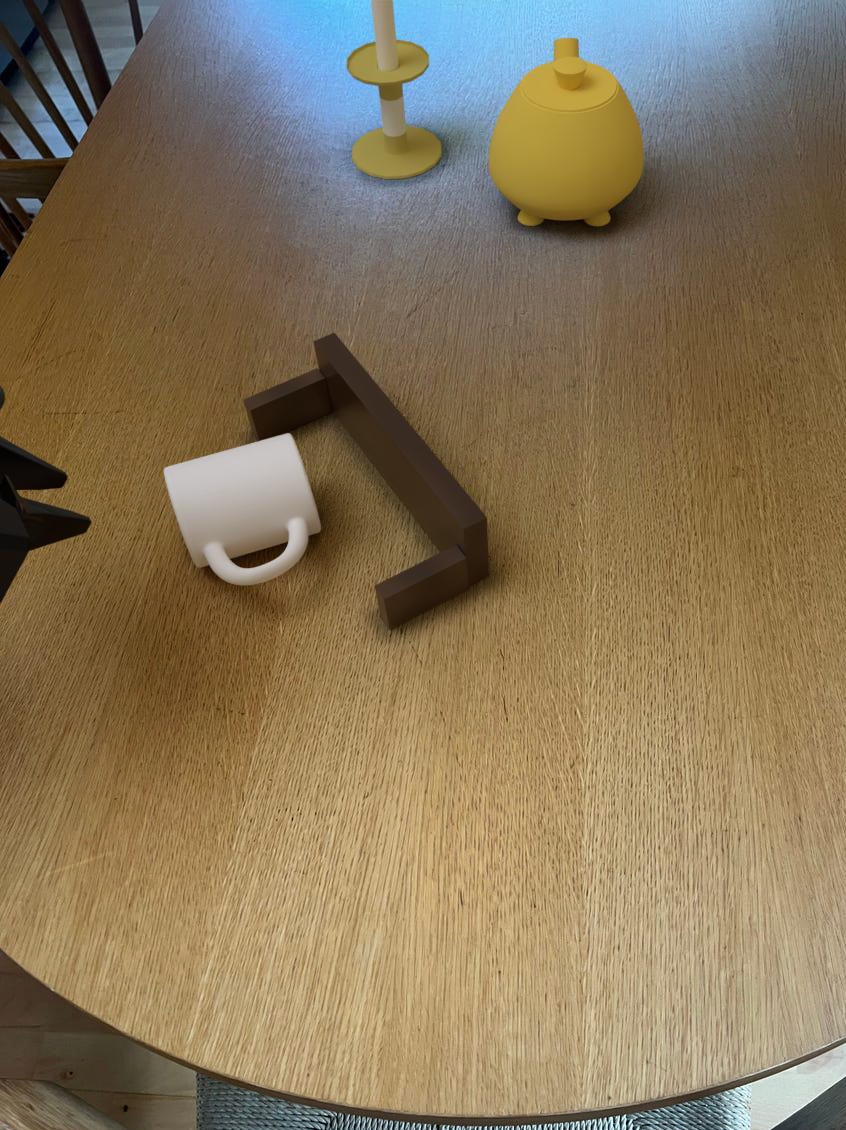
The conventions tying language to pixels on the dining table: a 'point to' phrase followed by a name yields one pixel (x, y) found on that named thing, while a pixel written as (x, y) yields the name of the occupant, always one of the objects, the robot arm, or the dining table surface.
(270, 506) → the mug
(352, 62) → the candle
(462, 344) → the dining table surface
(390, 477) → the shelf
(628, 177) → the teapot
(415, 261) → the dining table surface
